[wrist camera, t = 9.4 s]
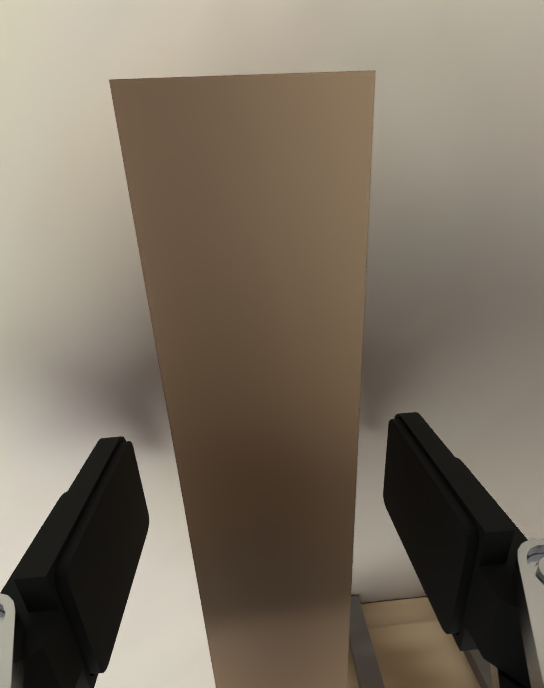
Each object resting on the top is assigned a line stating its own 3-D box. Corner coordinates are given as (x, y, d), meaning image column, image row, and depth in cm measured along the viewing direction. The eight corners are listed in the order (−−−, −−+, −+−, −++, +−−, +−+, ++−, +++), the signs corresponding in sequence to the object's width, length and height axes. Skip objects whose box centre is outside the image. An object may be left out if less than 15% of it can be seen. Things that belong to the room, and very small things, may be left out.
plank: (300, 145, 10) (375, 70, 4) (307, 561, 15) (343, 764, 10) (187, 150, 10) (108, 80, 4) (236, 568, 15) (231, 778, 10)
